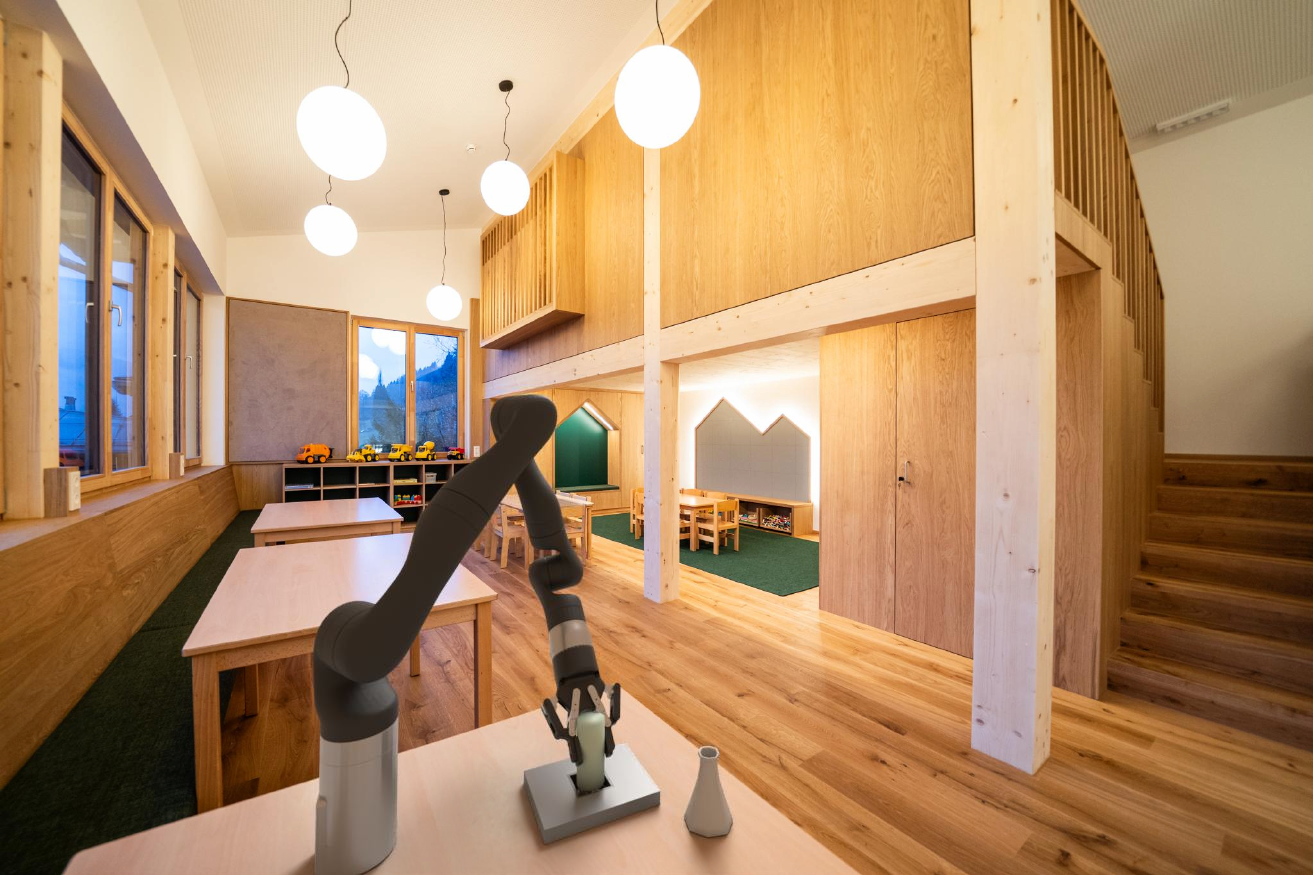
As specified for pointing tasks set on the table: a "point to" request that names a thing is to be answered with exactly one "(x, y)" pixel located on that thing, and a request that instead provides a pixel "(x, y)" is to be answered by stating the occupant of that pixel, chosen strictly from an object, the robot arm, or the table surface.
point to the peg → (591, 750)
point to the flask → (708, 798)
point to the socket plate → (588, 795)
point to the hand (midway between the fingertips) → (594, 759)
